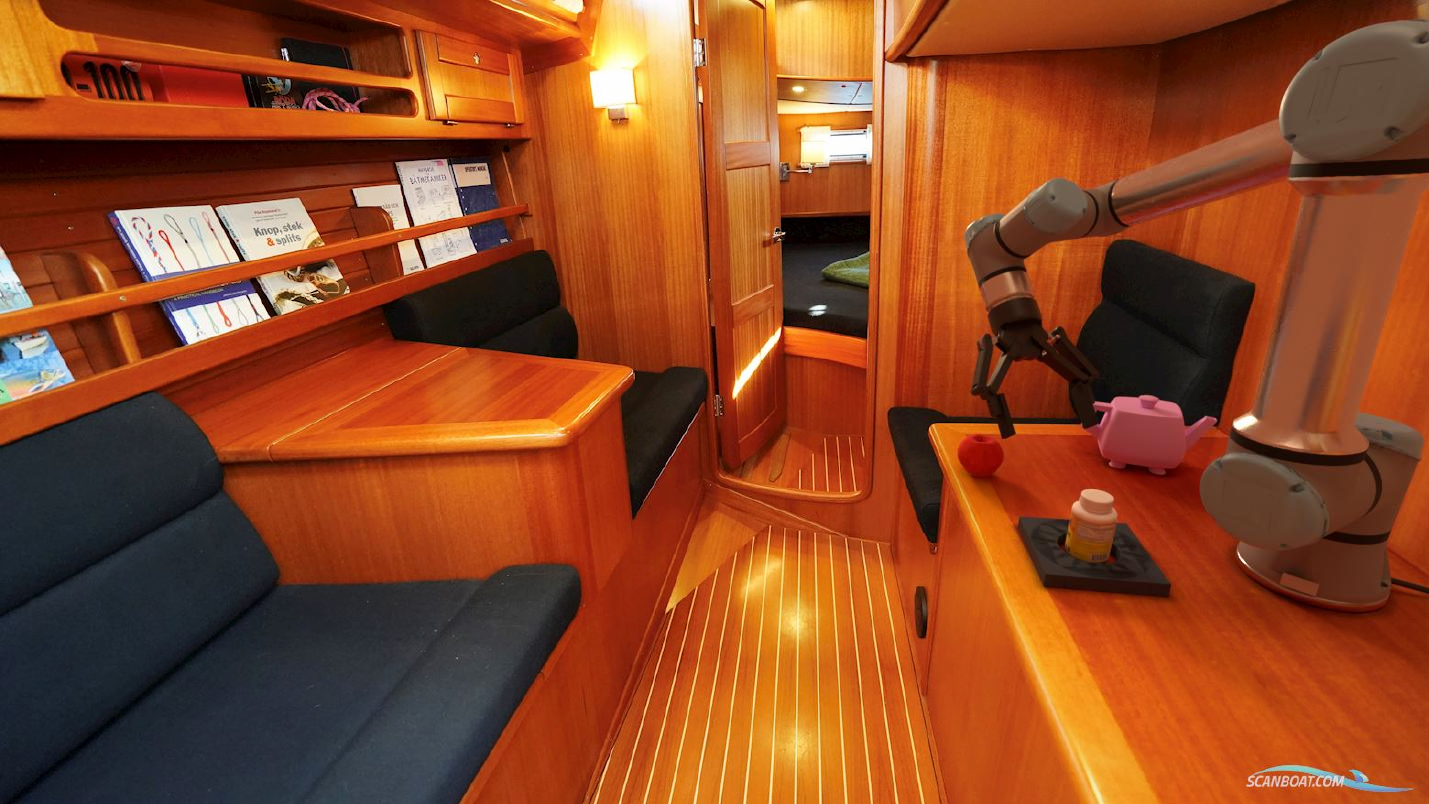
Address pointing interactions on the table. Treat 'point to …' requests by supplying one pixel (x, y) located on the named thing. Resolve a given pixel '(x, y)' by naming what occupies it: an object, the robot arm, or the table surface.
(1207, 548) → the table surface
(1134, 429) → the teapot
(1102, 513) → the supplement bottle
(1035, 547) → the pad board
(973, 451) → the apple
